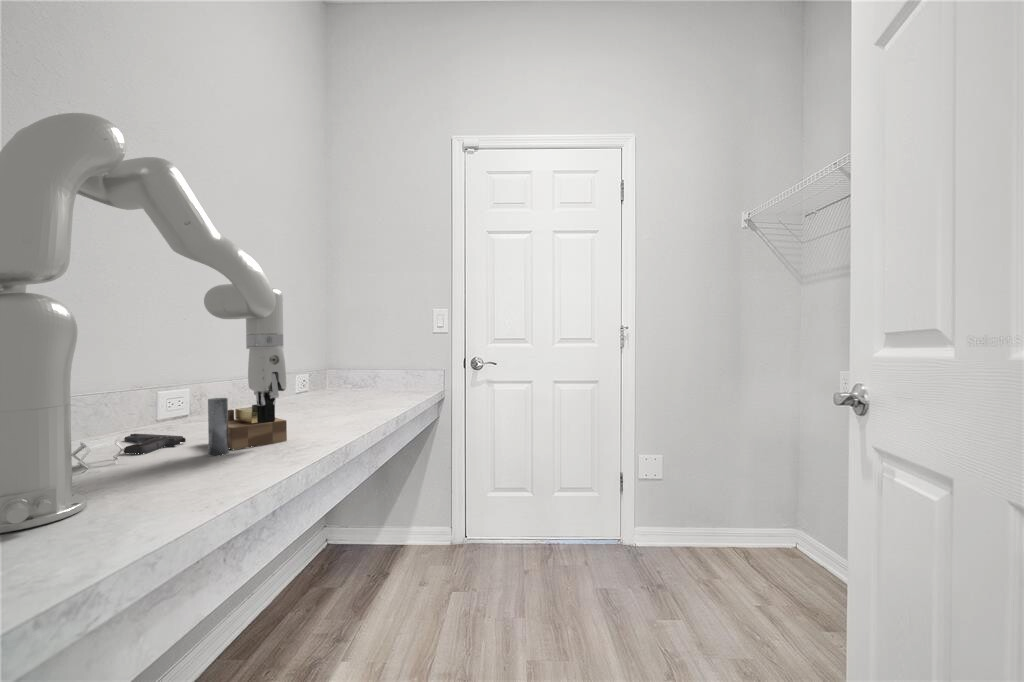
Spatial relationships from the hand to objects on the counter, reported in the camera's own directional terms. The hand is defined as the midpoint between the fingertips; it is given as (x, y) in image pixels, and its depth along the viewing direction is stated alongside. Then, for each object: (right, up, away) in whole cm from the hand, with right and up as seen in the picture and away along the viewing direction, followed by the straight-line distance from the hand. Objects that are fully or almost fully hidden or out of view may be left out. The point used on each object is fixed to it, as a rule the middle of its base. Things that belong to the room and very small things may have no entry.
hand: (266, 422), depth 106 cm
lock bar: (-7, -1, +6) cm, 9 cm away
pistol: (-31, -7, +2) cm, 32 cm away
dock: (-7, -6, +6) cm, 11 cm away
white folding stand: (-26, -7, -15) cm, 30 cm away
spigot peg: (-8, -6, -5) cm, 11 cm away
